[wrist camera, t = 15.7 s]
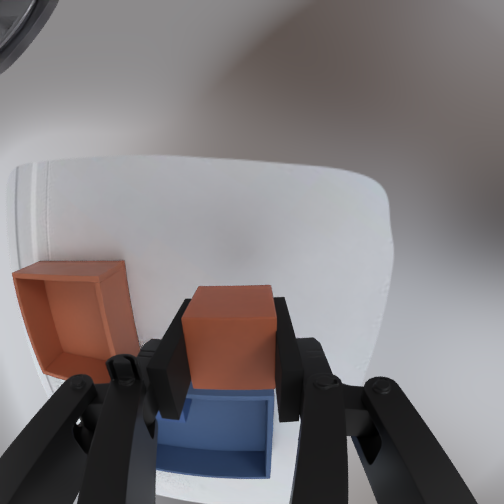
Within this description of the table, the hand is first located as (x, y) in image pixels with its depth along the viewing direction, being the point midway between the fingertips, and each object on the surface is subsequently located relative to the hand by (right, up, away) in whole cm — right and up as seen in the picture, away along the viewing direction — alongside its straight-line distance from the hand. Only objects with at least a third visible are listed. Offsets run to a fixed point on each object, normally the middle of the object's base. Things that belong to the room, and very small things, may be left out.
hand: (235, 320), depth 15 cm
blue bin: (-5, -17, +16) cm, 24 cm away
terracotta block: (0, 0, 0) cm, 0 cm away
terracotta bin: (-19, -4, +13) cm, 23 cm away
